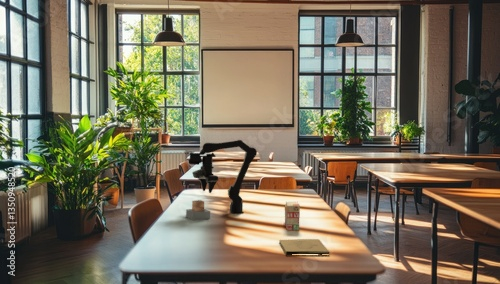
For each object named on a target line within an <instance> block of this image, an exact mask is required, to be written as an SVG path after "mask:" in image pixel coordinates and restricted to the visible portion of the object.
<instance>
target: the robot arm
mask: <svg viewBox="0 0 500 284" xmlns="http://www.w3.org/2000/svg"><path fill="white" fill-rule="evenodd" d="M232 148H240V149H241V150H242V151H244V158H243V162H242V164H241V166H240V169H239V172H238V173H237V176H236V178H235V181H234V182H233V184H230V185H229V188H228V190H227V196H228V198H229V199H230V200H231V201H230V204H229V211H228V212H229V213H231V214H243V213H244V211H243V210H244V209H243V207H244V206H243V204H244V203H243V199H242V197H241V196H240V192H241V186H242V183H243V182H244V179H245V177H246V174H247V171H248V169H249V167H250V165H251V163H252V162H253V161H254V159H255V158H256V157H257V154H258V151H257V149H256V148H255V147H254V146H253V147H251V146H249V145H248V144H246V143H245V142H243V140H241V139H238V140H230V141H225V142H205V143H203V145H202V149H201V150H200V151H199V152H189V160H188V161H189V164H188V165H189V166H190V165H191V166H192V165H196V166H197V165H200V164H201V166H200V169H197V170H195V171H194V170H193V171H192V173H191V174H192V177H193V178H194V179H197V180H198V181H199V182H200V184H201V189H202V192H205V191H206V188H207V186H208V193H209V194H212V192H213V190H214V188H215V186H216V185H217V184H216V183H217V182H218V181H219V176H218V175H215V174H214V173H213V169H214V167H215V166H213V158H215V157H216V154H214V152H216V151H218V150H219V151H220V150H224V149H225V150H226V149H232ZM205 154H206V155H205Z"/></svg>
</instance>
